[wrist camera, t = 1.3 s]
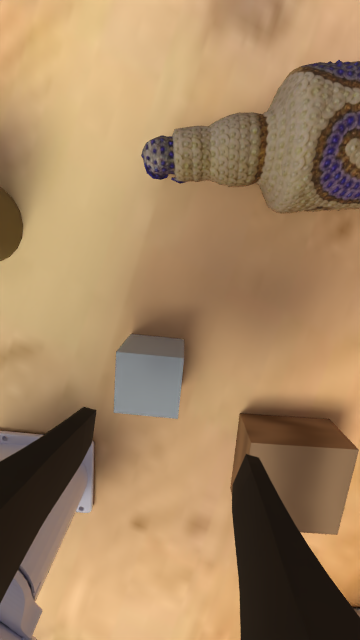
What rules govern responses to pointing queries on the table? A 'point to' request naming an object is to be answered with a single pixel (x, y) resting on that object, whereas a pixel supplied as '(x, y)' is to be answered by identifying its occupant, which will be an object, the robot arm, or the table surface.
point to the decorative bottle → (279, 144)
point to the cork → (9, 225)
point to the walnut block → (301, 465)
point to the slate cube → (149, 376)
